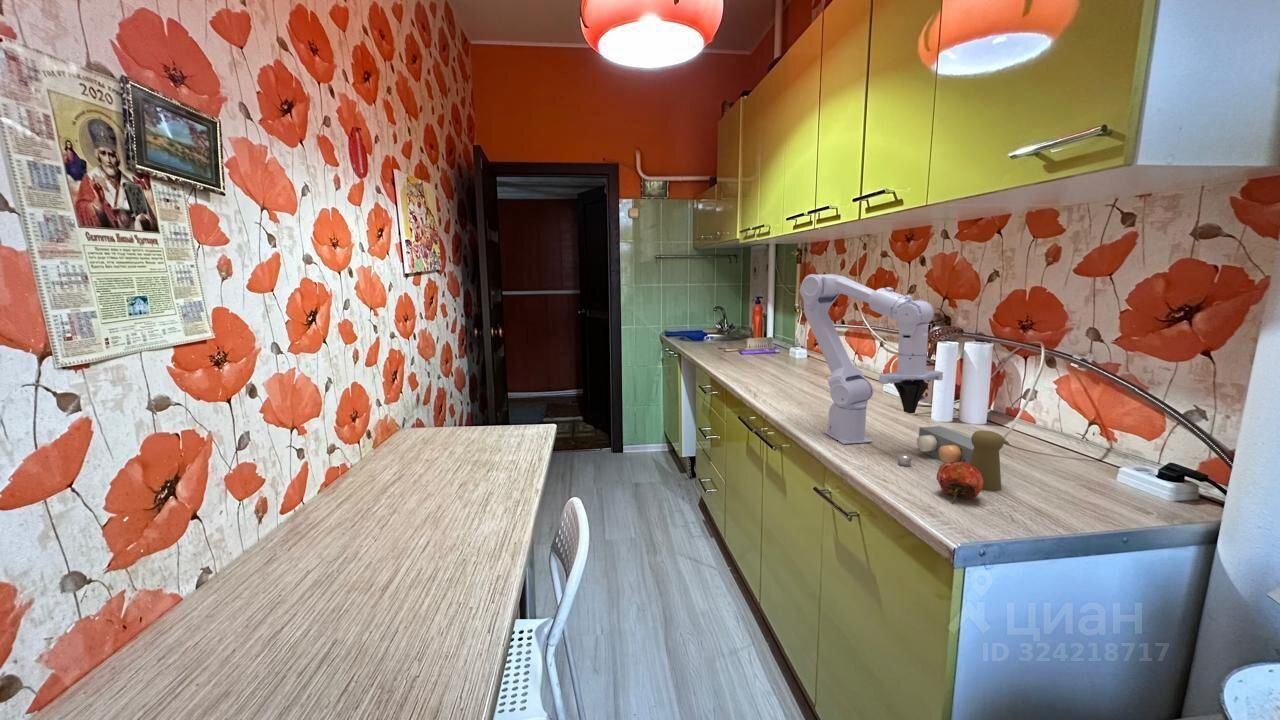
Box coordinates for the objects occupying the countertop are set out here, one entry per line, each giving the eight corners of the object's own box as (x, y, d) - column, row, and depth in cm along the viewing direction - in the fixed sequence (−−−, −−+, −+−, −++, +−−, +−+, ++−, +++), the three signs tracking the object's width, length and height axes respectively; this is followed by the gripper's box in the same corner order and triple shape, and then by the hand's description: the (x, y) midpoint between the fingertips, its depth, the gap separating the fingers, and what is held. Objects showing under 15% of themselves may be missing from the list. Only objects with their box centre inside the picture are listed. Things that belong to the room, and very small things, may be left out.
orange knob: (938, 459, 108) (939, 443, 108) (976, 456, 110) (977, 440, 109) (950, 465, 105) (952, 449, 104) (989, 461, 106) (991, 446, 106)
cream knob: (916, 448, 115) (917, 433, 115) (952, 445, 117) (953, 431, 116) (927, 453, 112) (928, 438, 111) (964, 450, 113) (965, 435, 113)
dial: (895, 463, 110) (895, 454, 110) (905, 462, 111) (906, 453, 111) (903, 467, 108) (903, 458, 108) (913, 466, 108) (914, 457, 108)
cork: (1008, 491, 95) (1014, 436, 93) (977, 491, 95) (982, 437, 94) (987, 478, 101) (993, 427, 99) (958, 478, 101) (962, 427, 100)
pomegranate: (979, 520, 89) (995, 476, 93) (967, 495, 86) (985, 451, 90) (935, 509, 95) (953, 468, 99) (922, 486, 92) (941, 445, 96)
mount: (917, 449, 119) (919, 427, 118) (938, 447, 119) (940, 426, 118) (971, 475, 103) (973, 450, 102) (994, 473, 104) (997, 448, 103)
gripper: (894, 358, 106) (891, 419, 108) (954, 354, 108) (950, 414, 110) (874, 353, 113) (872, 411, 115) (931, 350, 115) (928, 407, 117)
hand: (909, 412), depth 113 cm, fingers closed
